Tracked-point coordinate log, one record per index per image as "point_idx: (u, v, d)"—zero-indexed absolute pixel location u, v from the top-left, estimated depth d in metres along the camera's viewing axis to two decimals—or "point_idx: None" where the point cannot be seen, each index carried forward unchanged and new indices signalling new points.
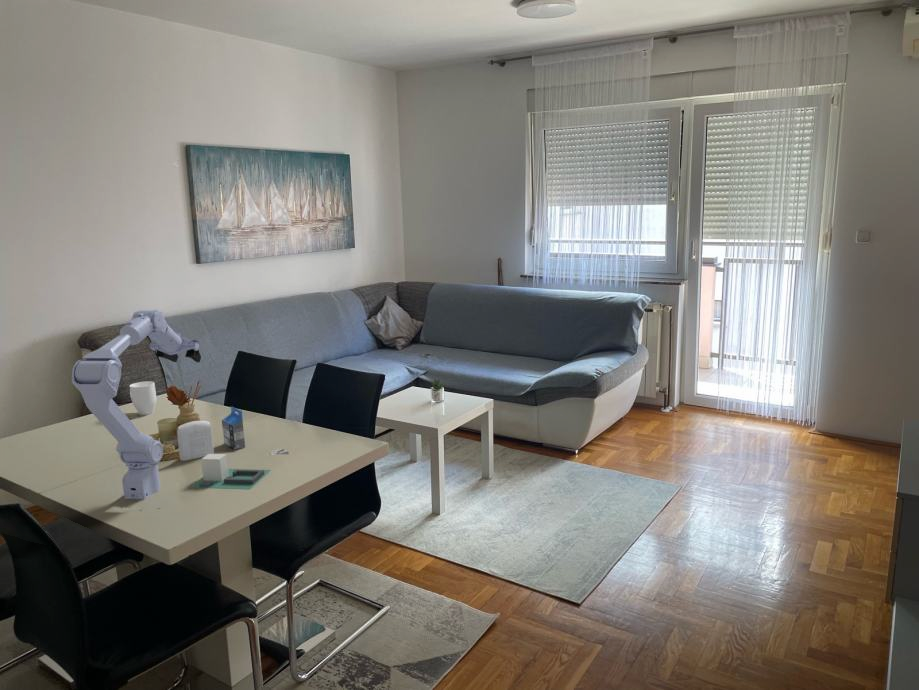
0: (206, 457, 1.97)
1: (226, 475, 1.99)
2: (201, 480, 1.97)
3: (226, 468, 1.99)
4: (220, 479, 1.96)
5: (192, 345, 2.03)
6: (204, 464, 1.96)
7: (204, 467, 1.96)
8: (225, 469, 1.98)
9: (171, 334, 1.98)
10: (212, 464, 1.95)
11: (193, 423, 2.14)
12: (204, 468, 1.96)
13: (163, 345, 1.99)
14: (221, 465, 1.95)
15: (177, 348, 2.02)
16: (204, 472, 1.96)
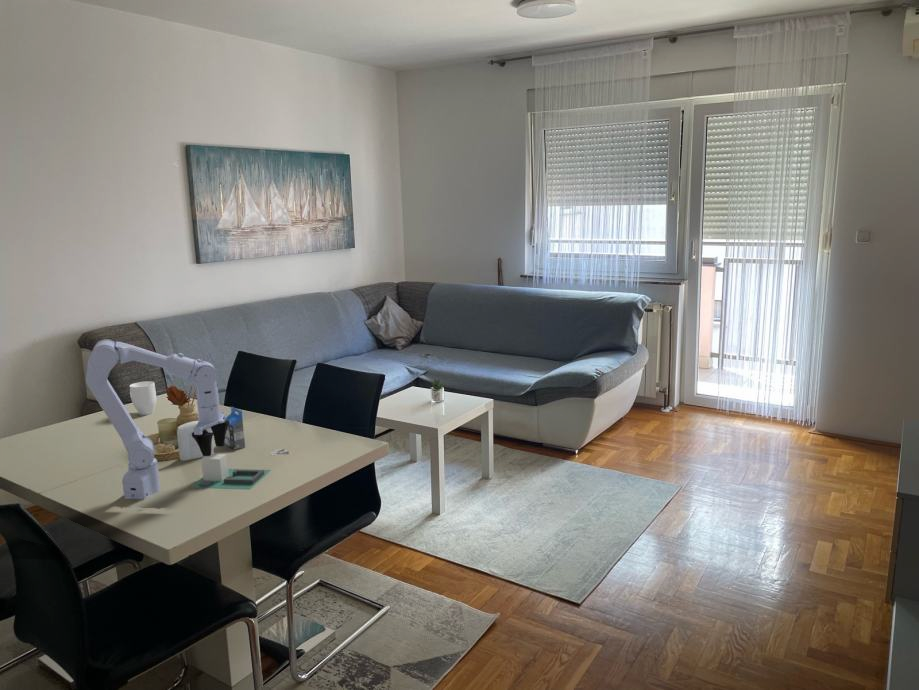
0: (206, 457, 1.97)
1: (226, 475, 1.99)
2: (201, 480, 1.97)
3: (226, 468, 1.99)
4: (220, 479, 1.96)
5: None
6: (204, 464, 1.96)
7: (204, 467, 1.96)
8: (225, 469, 1.98)
9: (208, 402, 1.91)
10: (212, 464, 1.95)
11: (193, 423, 2.14)
12: (204, 468, 1.96)
13: None
14: (221, 465, 1.95)
15: (200, 420, 1.93)
16: (204, 472, 1.96)
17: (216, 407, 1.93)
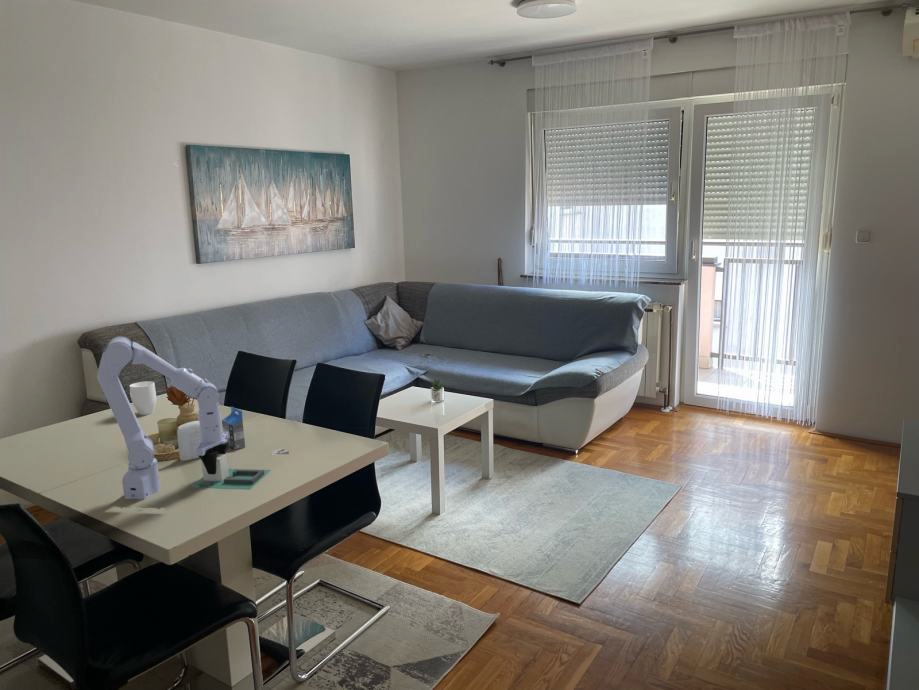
0: None
1: (226, 475, 1.99)
2: (201, 480, 1.97)
3: (226, 468, 1.99)
4: (220, 479, 1.96)
5: (200, 448, 1.90)
6: None
7: (204, 467, 1.96)
8: (225, 469, 1.98)
9: (210, 422, 1.92)
10: None
11: (193, 423, 2.14)
12: (204, 468, 1.96)
13: None
14: (221, 465, 1.95)
15: (202, 440, 1.94)
16: (204, 472, 1.96)
17: (218, 428, 1.94)
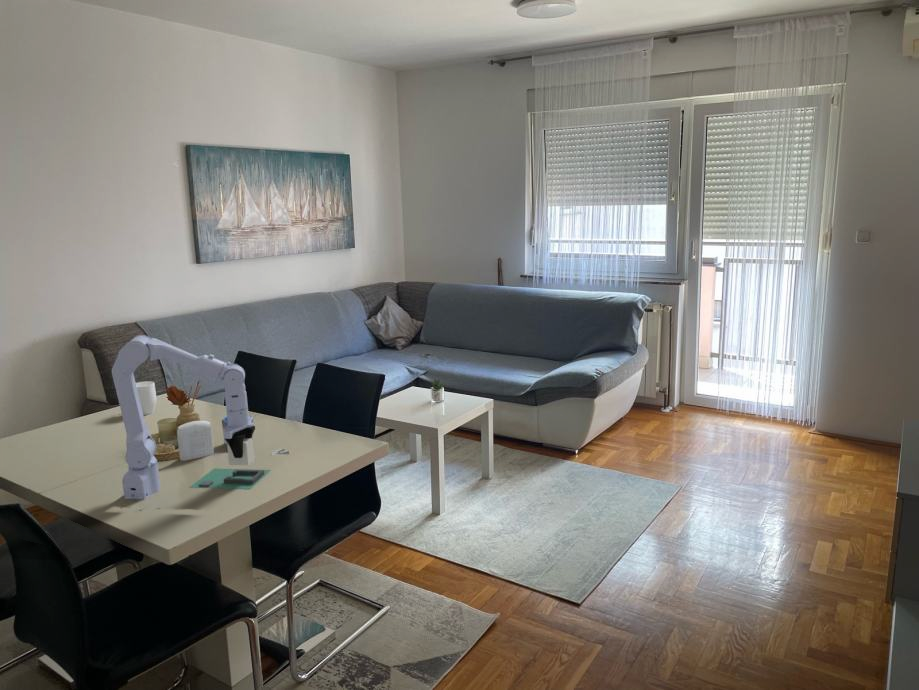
0: None
1: (252, 459, 1.96)
2: (201, 480, 1.97)
3: (252, 452, 1.96)
4: (246, 463, 1.94)
5: None
6: (230, 448, 1.94)
7: (230, 451, 1.94)
8: (251, 453, 1.96)
9: (235, 405, 1.90)
10: None
11: (193, 423, 2.14)
12: (230, 452, 1.94)
13: None
14: (247, 449, 1.93)
15: (229, 424, 1.92)
16: (230, 456, 1.94)
17: (245, 411, 1.92)
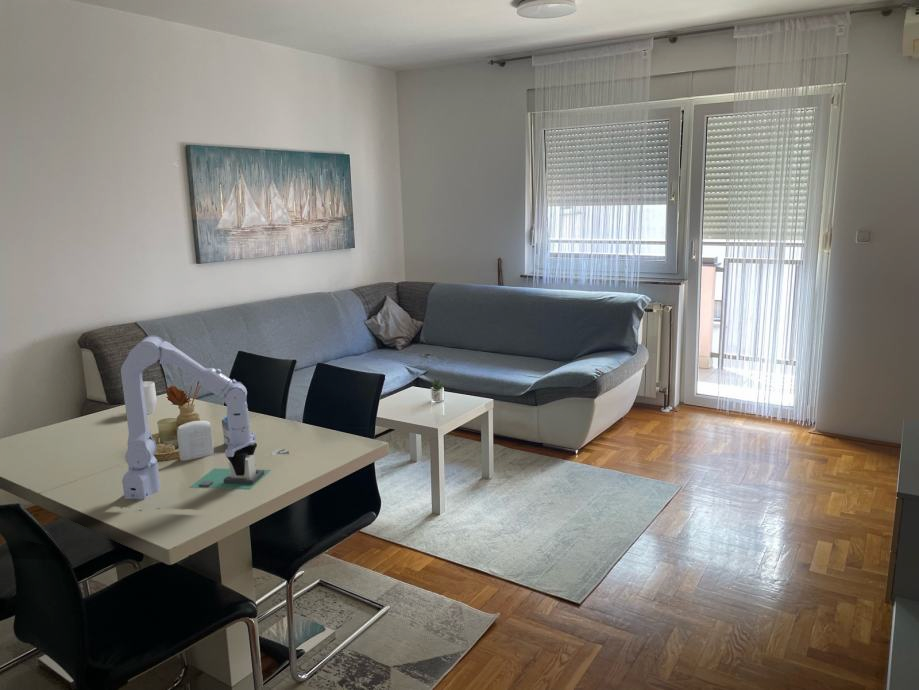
0: None
1: None
2: (201, 480, 1.97)
3: (254, 469, 1.97)
4: None
5: None
6: None
7: (232, 468, 1.95)
8: (253, 470, 1.97)
9: (237, 424, 1.91)
10: None
11: (193, 423, 2.14)
12: (232, 469, 1.95)
13: None
14: (249, 465, 1.94)
15: (231, 441, 1.93)
16: (232, 473, 1.95)
17: (247, 429, 1.93)
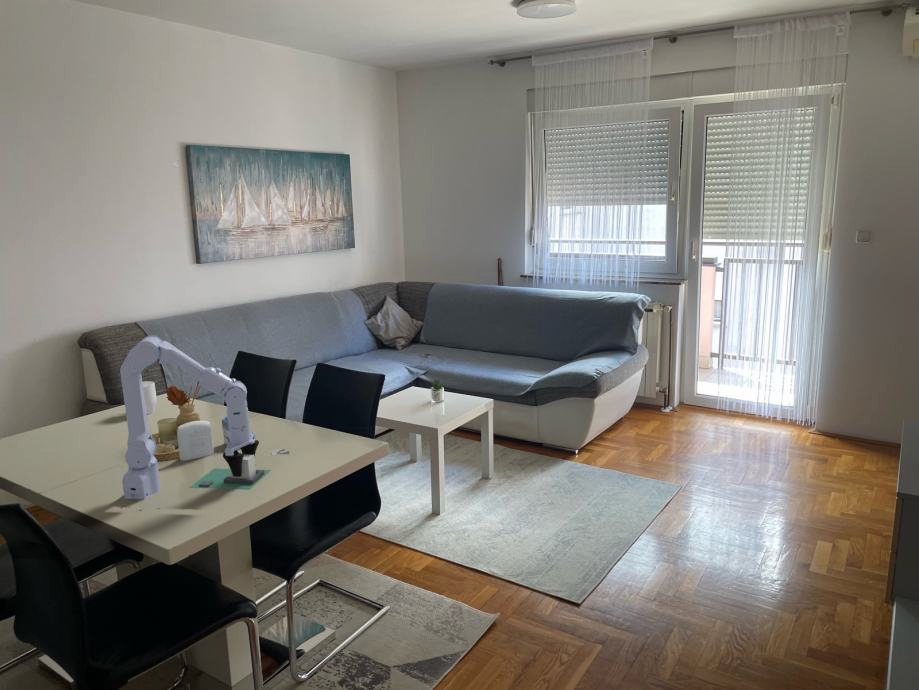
0: None
1: None
2: (201, 480, 1.97)
3: (254, 469, 1.97)
4: None
5: None
6: None
7: None
8: (253, 470, 1.97)
9: (237, 423, 1.91)
10: None
11: (193, 423, 2.14)
12: None
13: None
14: (249, 465, 1.94)
15: (230, 440, 1.93)
16: None
17: (247, 428, 1.93)
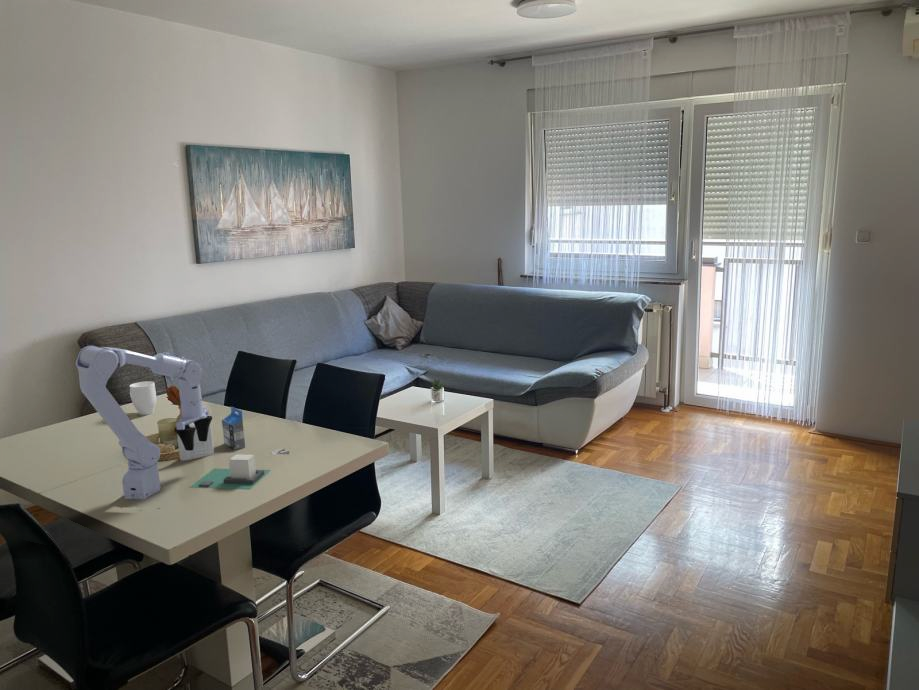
0: (234, 458, 1.95)
1: None
2: (201, 480, 1.97)
3: (254, 469, 1.97)
4: None
5: None
6: (232, 465, 1.95)
7: (232, 468, 1.95)
8: (253, 470, 1.97)
9: (195, 396, 1.97)
10: (240, 464, 1.94)
11: (193, 423, 2.14)
12: (232, 469, 1.95)
13: None
14: (249, 465, 1.94)
15: (183, 415, 1.98)
16: (232, 473, 1.95)
17: (198, 403, 1.98)
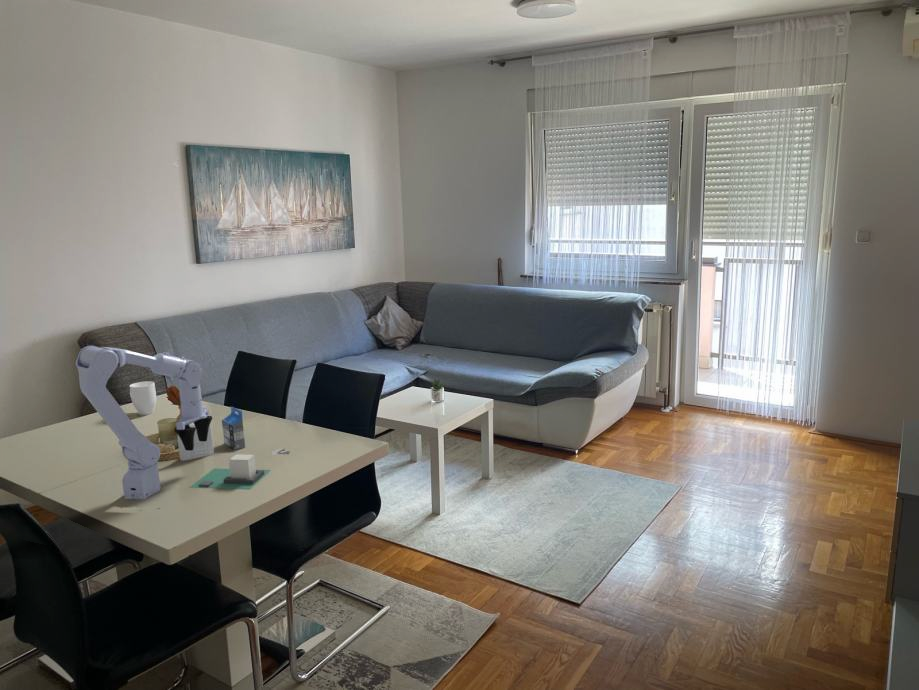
0: (234, 458, 1.95)
1: None
2: (201, 480, 1.97)
3: (254, 469, 1.97)
4: None
5: None
6: (232, 465, 1.95)
7: (232, 468, 1.95)
8: (253, 470, 1.97)
9: (195, 396, 1.97)
10: (240, 464, 1.94)
11: (193, 423, 2.14)
12: (232, 469, 1.95)
13: None
14: (249, 465, 1.94)
15: (183, 415, 1.98)
16: (232, 473, 1.95)
17: (198, 403, 1.98)
